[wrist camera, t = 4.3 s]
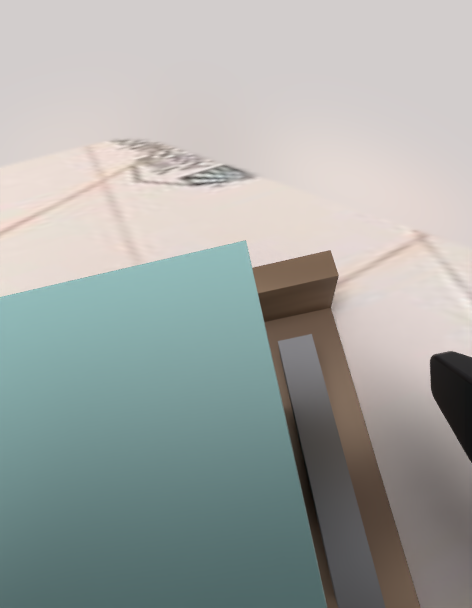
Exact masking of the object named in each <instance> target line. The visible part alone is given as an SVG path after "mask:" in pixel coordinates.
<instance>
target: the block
mask: <svg viewBox="0 0 472 608" xmlns="http://www.w3.org/2000/svg"><path fill="white" fill-rule="evenodd" d="M0 608H327V604H326V599H325V594H324V590H323V585H322V581H321V576H320V571H319V567H318V562H317V558H316V553H315V548H314V544H313V539H312V535H311V530H310V525H309V521H308V516H307V512H306V507H305V503H304V498H303V494H302V489H301V484H300V480H299V475H298V471H297V466H296V462H295V457H294V453H293V448H292V444H291V439H290V434H289V430H288V425H287V421H286V416H285V412H284V407H283V403H282V398H281V394H280V389H279V385H278V381H277V376H276V372H275V367H274V363H273V358H272V354H271V349H270V345H269V341H268V336H267V332H266V327H265V323H264V318H263V314H262V310H261V305H260V301H259V296H258V292H257V287H256V283H255V278H254V274H253V270H252V265H251V261H250V256H249V252H248V247H247V243H246V240H245V241H241V242H237V243H232V244H228V245H224V246H219V247H215V248H211V249H206V250H202V251H198V252H193V253H189V254H185V255H181V256H176V257H172V258H168V259H163V260H159V261H155V262H150V263H146V264H142V265H137V266H133V267H129V268H124V269H120V270H116V271H111V272H107V273H103V274H98V275H94V276H90V277H85V278H81V279H77V280H72V281H68V282H64V283H59V284H55V285H51V286H46V287H42V288H38V289H33V290H29V291H25V292H21V293H16V294H12V295H8V296H3V297H0Z"/></svg>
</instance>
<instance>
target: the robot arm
mask: <svg viewBox="0 0 472 608" xmlns="http://www.w3.org/2000/svg"><path fill="white" fill-rule="evenodd" d="M430 376H431V391H432V394H433V397H434V399H435V401H436V402H437V404H438V406H439V408H440V409H441V411H442V413H443V415H444V416H445V418H446V420H447V422H448V423H449V425H450V427H451V428H452V430H453V432H454V434H455V435H456V437H457V439H458V441H459V442H460V444H461V446H462V448H463V449H464V451H465V453H466V454H467V456H468V458H469V459H470V461H471V463H472V357H469V356H466V355H463V354H459V353H456V352H453V351H449V352H444V353H439V354H434V355H433V356H432V357H431V359H430Z"/></svg>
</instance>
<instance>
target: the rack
mask: <svg viewBox="0 0 472 608" xmlns="http://www.w3.org/2000/svg"><path fill="white" fill-rule="evenodd" d="M252 270H253V274H254V278H255V283H256V287H257V292H258V296H259V301H260V305H261V310H262V314H263V318H264V323H265V327H266V332H267V336H268V341H269V345H270V349H271V354H272V358H273V363H274V367H275V372H276V376H277V381H278V385H279V389H280V394H281V398H282V403H283V407H284V412H285V416H286V421H287V425H288V430H289V434H290V439H291V444H292V448H293V453H294V457H295V462H296V466H297V471H298V475H299V480H300V484H301V489H302V494H303V498H304V503H305V507H306V512H307V516H308V521H309V525H310V530H311V535H312V539H313V544H314V548H315V553H316V558H317V562H318V567H319V571H320V576H321V581H322V585H323V590H324V594H325V599H326V604H327V608H420V605H419V601H418V598H417V595H416V591H415V588H414V585H413V581H412V578H411V575H410V571H409V568H408V565H407V561H406V558H405V555H404V551H403V548H402V545H401V541H400V538H399V535H398V531H397V528H396V525H395V521H394V518H393V514H392V511H391V508H390V504H389V501H388V498H387V494H386V491H385V488H384V484H383V481H382V478H381V474H380V471H379V468H378V464H377V461H376V458H375V454H374V451H373V448H372V444H371V441H370V438H369V434H368V431H367V428H366V424H365V421H364V418H363V414H362V411H361V408H360V404H359V401H358V398H357V394H356V391H355V388H354V384H353V381H352V378H351V374H350V371H349V368H348V364H347V361H346V358H345V354H344V351H343V347H342V344H341V341H340V337H339V334H338V331H337V327H336V324H335V321H334V317H333V314H332V311H331V304H332V300H333V296H334V292H335V288H336V284H337V280H338V276H339V275H338V272H337V269H336V266H335V263H334V260H333V257H332V253H331V250H329V251H325V252H320V253H316V254H312V255H307V256H303V257H298V258H294V259H289V260H285V261H281V262H276V263H272V264H267V265H263V266H259V267H254V268H252Z"/></svg>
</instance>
